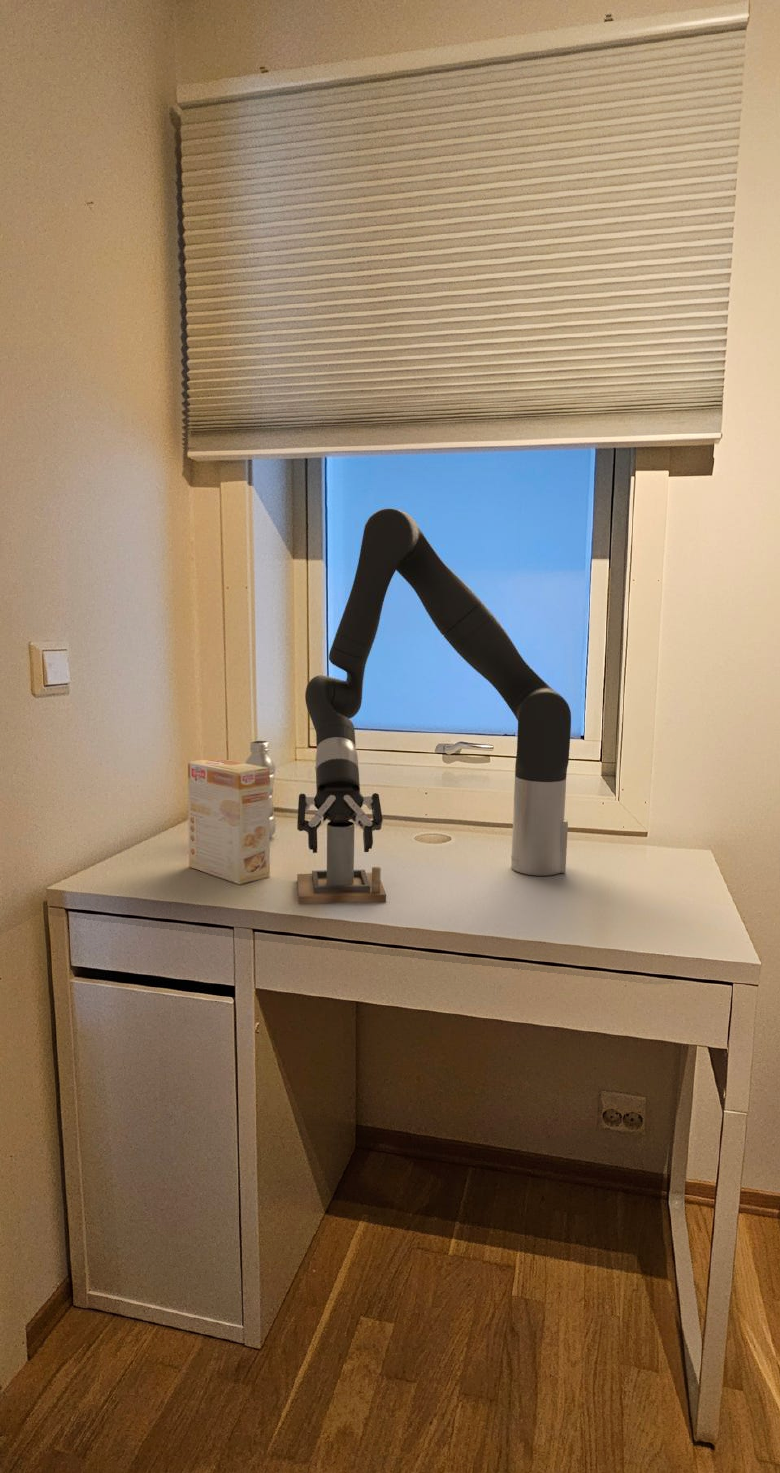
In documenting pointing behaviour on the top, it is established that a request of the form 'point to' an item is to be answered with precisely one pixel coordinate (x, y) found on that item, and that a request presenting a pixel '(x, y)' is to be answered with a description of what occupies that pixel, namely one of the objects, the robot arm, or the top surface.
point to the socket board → (341, 888)
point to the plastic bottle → (264, 760)
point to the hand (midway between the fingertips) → (341, 850)
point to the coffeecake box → (229, 819)
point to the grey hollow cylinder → (340, 853)
